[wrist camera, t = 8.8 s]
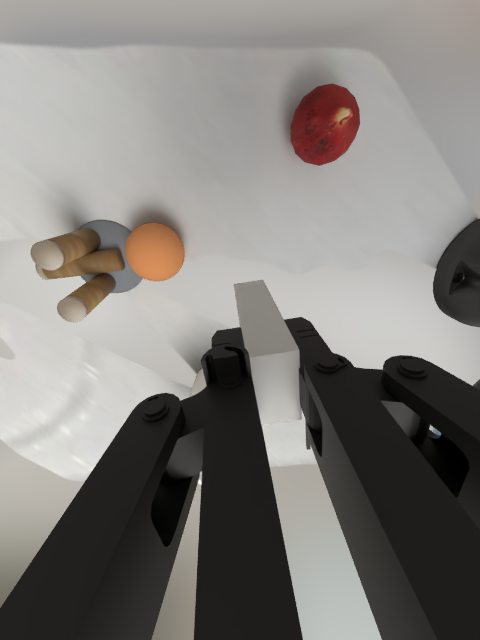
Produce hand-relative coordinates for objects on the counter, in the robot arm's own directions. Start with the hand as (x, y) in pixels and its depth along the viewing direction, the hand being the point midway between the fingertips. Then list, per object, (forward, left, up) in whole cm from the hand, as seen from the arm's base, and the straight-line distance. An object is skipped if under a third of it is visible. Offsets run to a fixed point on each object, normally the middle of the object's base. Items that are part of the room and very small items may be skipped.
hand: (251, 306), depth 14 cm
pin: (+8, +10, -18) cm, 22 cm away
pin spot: (+9, +11, -19) cm, 24 cm away
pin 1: (+12, +10, -19) cm, 25 cm away
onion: (+1, -13, -20) cm, 24 cm away
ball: (+6, +6, -16) cm, 18 cm away
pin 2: (+8, +14, -19) cm, 25 cm away
